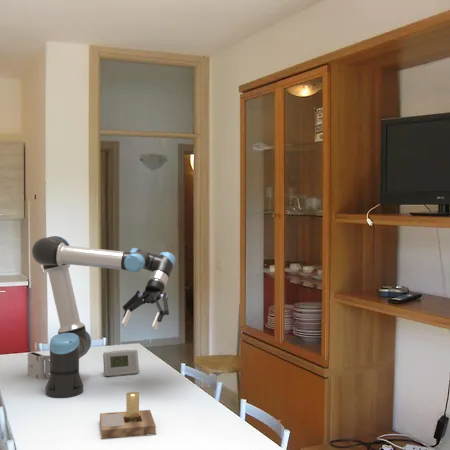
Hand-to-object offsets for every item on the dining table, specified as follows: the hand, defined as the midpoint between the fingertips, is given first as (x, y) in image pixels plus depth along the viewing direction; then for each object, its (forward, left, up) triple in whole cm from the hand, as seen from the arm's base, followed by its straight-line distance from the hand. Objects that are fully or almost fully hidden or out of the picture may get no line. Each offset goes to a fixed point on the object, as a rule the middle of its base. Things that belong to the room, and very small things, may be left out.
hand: (138, 326), depth 235 cm
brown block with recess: (-7, -28, -30) cm, 41 cm away
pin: (-5, -28, -30) cm, 41 cm away
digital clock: (-4, +38, -30) cm, 49 cm away
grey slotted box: (-40, +42, -30) cm, 65 cm away
